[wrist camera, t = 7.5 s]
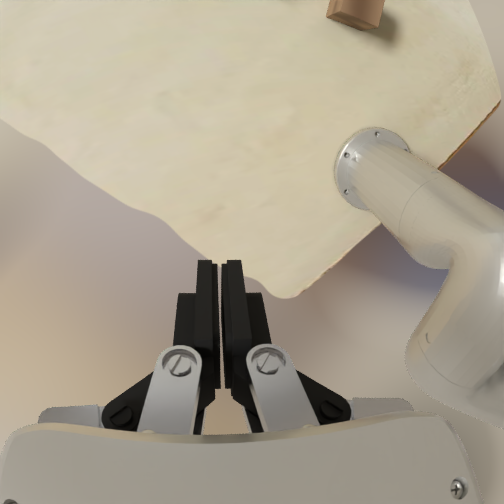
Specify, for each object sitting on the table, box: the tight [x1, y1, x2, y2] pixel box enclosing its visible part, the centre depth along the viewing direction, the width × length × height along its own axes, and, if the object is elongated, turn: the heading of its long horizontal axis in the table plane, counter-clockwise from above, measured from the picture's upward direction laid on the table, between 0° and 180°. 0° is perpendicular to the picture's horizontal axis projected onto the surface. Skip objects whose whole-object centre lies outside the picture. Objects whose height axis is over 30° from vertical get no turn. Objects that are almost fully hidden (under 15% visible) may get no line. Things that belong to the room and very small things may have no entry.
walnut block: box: [326, 0, 385, 31], centre depth 25 cm, size 5×5×5 cm
